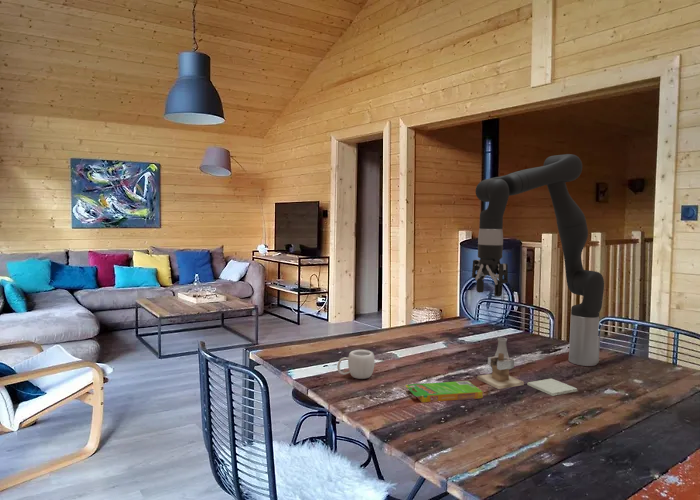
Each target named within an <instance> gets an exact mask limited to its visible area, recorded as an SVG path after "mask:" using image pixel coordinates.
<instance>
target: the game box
mask: <svg viewBox="0 0 700 500" xmlns="http://www.w3.org/2000/svg"><path fill="white" fill-rule="evenodd" d="M405 387H406V389H407V390H409V392H410V393H411V394H412V395H413V396H414V397H417V399H418V400H419V401H420V402H421V403H432V402H435V403H436V402H447V401H459V400H476V399H483V396H484V395H483V393H484V392H483V390H481V389H480V388H478V387H477V386H476V385H474V384H472V382H471V381H469V380H464V381H463V380H462V381H460V380H459V381H445V382H429V383H427V382H426V383H411V384H405Z"/></svg>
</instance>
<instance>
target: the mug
mask: <svg viewBox="0 0 700 500" xmlns="http://www.w3.org/2000/svg"><path fill="white" fill-rule="evenodd" d="M344 360H346V361H347V365H348V371H345V372H343V371H342V370H341V368H340V367H341V362H342V361H344ZM337 362H338V363H337V364H336V365H337V367H336V369H337V371H338V373H339V374H341V375H343V376H345V375H346V376H347V375H349V374H350V375H351V377H352V378H355V379H358V380H363V379H364V380H365V379H369V378H370V377H371V376H372V375H373V372H374V369H375V354H374V352H373V351H372V350H371V351H370V350H368V349H355V350H352V351H350V352H349V354H348V356H347V357H345V356H344V357H341V358H340V359H339V360H338V361H337Z"/></svg>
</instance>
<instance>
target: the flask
mask: <svg viewBox="0 0 700 500" xmlns="http://www.w3.org/2000/svg"><path fill="white" fill-rule="evenodd" d="M507 341H508V338H506V337H498V338H497V348H496V352H495V354H494V356H499V353H503V354H504V356H505V357H508V358H510V356H509V353H508V348H507ZM509 370H512V368H510V369H509Z"/></svg>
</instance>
